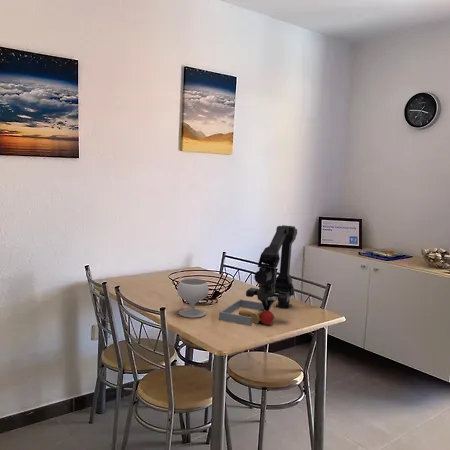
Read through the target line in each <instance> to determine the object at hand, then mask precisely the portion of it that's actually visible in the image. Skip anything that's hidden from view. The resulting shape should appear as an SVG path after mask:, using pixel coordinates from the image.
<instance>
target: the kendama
mask: <svg viewBox="0 0 450 450" xmlns="http://www.w3.org/2000/svg"><path fill="white" fill-rule="evenodd" d="M238 315H241V316H247V317H252V322H251V323H254V324H258V323H260V322H261V323H262V324H264V325H272V324H273V322H274V320H275V315H274V313H273V312H272V311H271V310H269V311H266V310H265V309H260V310H258V313H257V312H255V311H249V310H245V309H241V308H240V309H239V310H238Z"/></svg>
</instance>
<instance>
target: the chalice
mask: <svg viewBox="0 0 450 450" xmlns="http://www.w3.org/2000/svg"><path fill="white" fill-rule="evenodd" d="M176 292H177V295H178V296H179V298H180V299H182V300H184V301H185V302H187V303H188V304H189V307H190V308H185V309H180V311H178V315H180V316H181V317H185V318H192V319H194V318H201V317H203V316H206V312H205V311H204V310H201V309H197V308H195V306H196V304H197V303H199V302H200V301H203V300H204V299H206V298H207V297H208V295H209V293H210V291H209V284H208V283H207V281H206V280H205V279H200V278H190V277H189V278H183V279H181V280H179V283H178V285H177V290H176Z"/></svg>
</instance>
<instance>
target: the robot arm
mask: <svg viewBox="0 0 450 450" xmlns="http://www.w3.org/2000/svg"><path fill="white" fill-rule="evenodd" d="M297 235H298V229H297V228H296V226H293V225H284V224H283V225H277V227H276V231H275V234H274V235H273V238H272V239H271V242H270V243H269V246H267V247H264V249H263V251H262V252H261V254H260V257H259V260H258V262H257V267H258V271H256V272H255V274H254V276H253V278H254V280H255V282H256V284H259V285H260V287H259V289H258V288H254V287H250V288H249V289H247V290H246V291H245V296H246V297H248V298H253V297H255V296H256V297H257V300H258V301H260V303H262V304H263V307H264V309H265V310H266V311H271V308H272V305H273V304H274V302H276V301H277V303H276V304H275V307H276V308H282V309H283V308H284V309H289V308H290V307H292V305H293V304H292V303H291V302H290V301H291V297H292V296H295V287H294V284H293V278H292V276H291V275H290V269H291V257H292V247H293V246H292V245H293V243H294V242H295V241H296V240H297V239H296V238H297ZM280 249H281V253H279V252H280ZM278 265H280V266H279V274H278V275H277V274H276V273H277V272H276V271H277V267H278ZM276 275H277V276H276Z"/></svg>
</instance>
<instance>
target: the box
mask: <svg viewBox="0 0 450 450" xmlns="http://www.w3.org/2000/svg"><path fill="white" fill-rule="evenodd" d="M239 308H240V309H241V308H243V309H251V310H255V311H259V310H260V309H264V307H263V304H262V302H258V301H253V300H247V299H242V298H240V299H237V300H236V301H235V302H233V303H231V304H230V305H228V306H226V307H225V308H223V309H222V310H220V311H219V312H218V320H219V321H224V322H229V323H234V324H237V325H238V324H239V325H243V326H249V327H251V326H252V323H253V322H252V317H248V316H241V315H239V314H235V313H234V312H235V311H237V310H238V309H239Z"/></svg>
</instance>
